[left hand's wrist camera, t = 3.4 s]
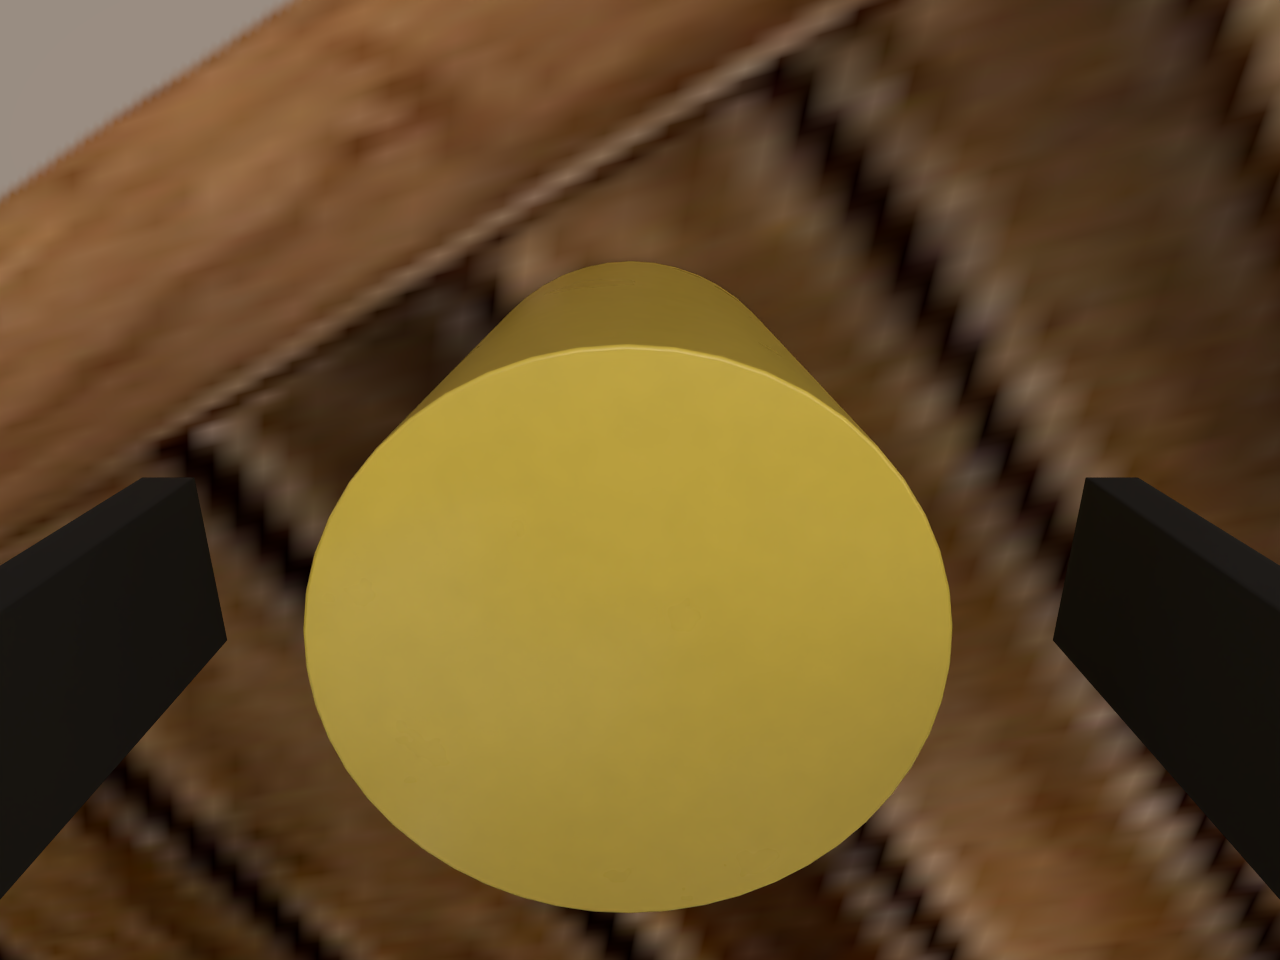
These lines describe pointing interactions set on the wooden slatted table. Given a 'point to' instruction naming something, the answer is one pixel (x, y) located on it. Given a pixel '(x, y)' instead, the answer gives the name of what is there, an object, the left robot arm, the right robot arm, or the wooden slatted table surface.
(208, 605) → the left robot arm
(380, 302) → the wooden slatted table surface
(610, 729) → the canister
